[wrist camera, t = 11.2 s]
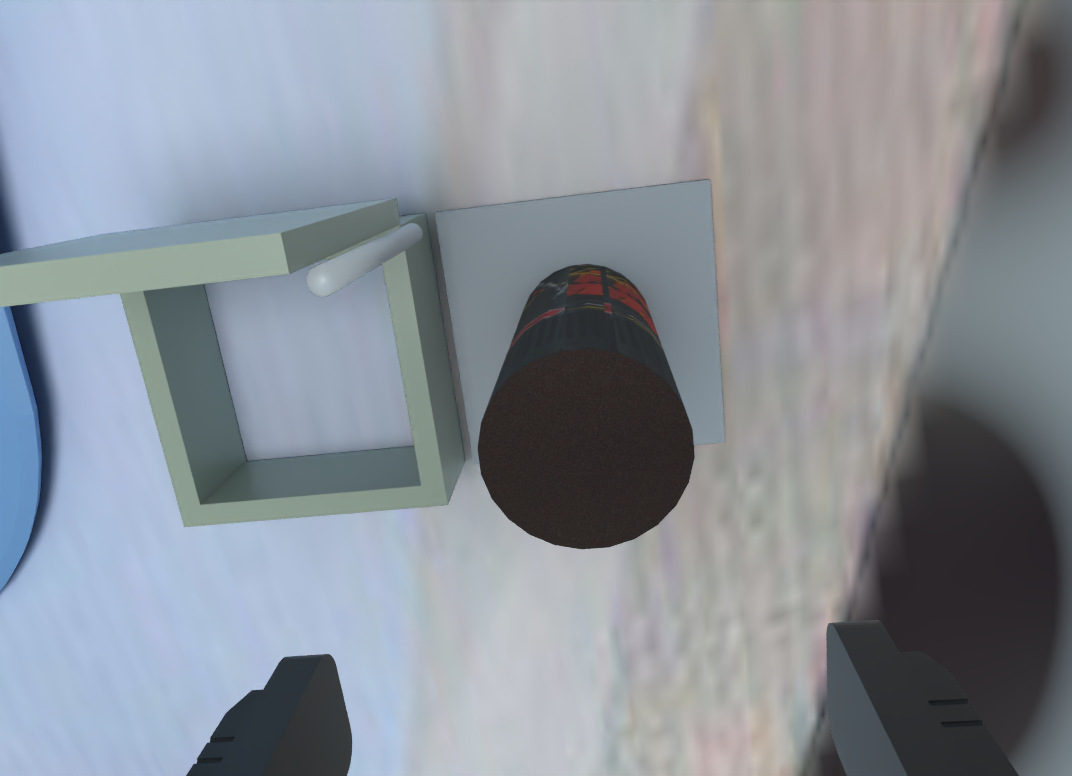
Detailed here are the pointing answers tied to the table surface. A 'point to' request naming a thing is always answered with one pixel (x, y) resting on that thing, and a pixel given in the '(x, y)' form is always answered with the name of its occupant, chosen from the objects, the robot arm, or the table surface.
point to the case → (197, 369)
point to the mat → (600, 239)
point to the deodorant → (586, 416)
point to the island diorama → (16, 450)
